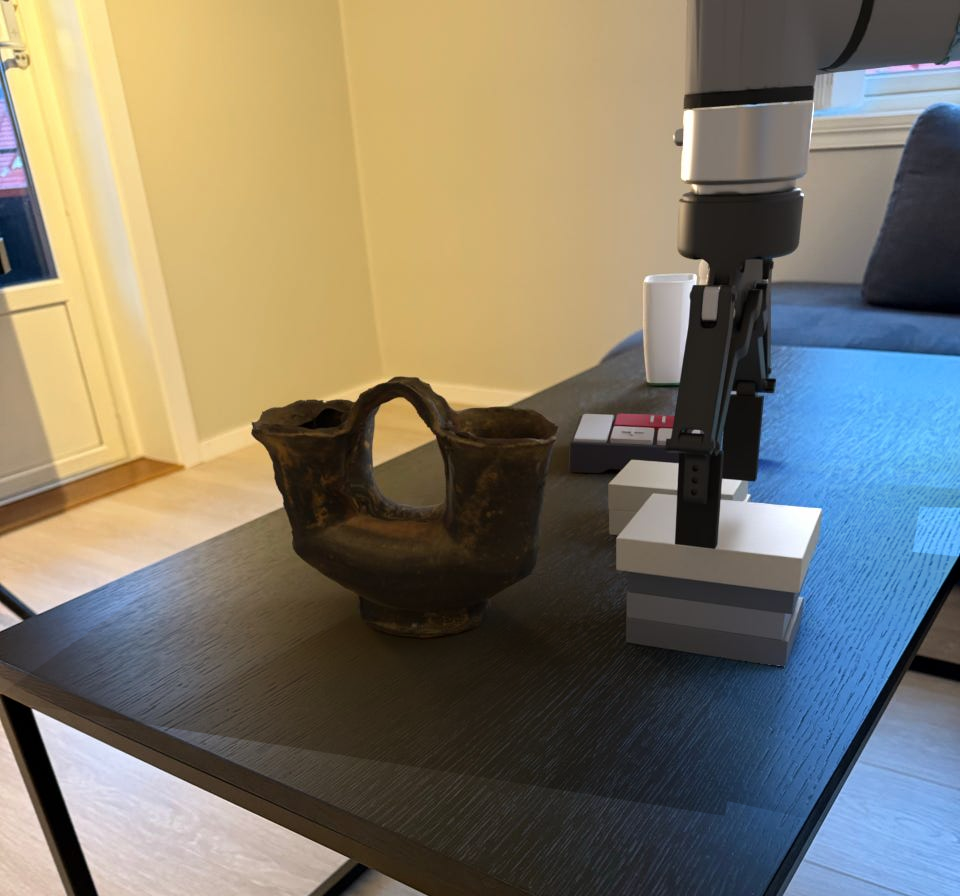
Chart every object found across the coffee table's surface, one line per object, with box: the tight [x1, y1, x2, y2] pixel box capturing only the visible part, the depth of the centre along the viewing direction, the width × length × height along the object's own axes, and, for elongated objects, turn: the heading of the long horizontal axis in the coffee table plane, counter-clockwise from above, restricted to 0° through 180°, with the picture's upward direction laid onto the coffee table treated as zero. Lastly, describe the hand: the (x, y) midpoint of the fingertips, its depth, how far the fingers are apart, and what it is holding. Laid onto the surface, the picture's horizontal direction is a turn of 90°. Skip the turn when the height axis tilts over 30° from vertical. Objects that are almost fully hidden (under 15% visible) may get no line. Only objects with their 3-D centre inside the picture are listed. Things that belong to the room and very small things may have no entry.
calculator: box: [568, 413, 704, 474], centre depth 109 cm, size 11×4×15 cm
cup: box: [642, 272, 697, 386], centre depth 136 cm, size 7×7×15 cm
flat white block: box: [615, 493, 823, 593], centre depth 69 cm, size 13×10×3 cm
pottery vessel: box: [250, 375, 559, 639], centre depth 75 cm, size 25×11×20 cm, turn 71°
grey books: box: [625, 566, 810, 668], centre depth 71 cm, size 12×8×7 cm, turn 65°
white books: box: [607, 460, 751, 536], centre depth 90 cm, size 12×8×5 cm, turn 65°
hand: (718, 509), depth 68 cm, fingers open, 13 cm apart
